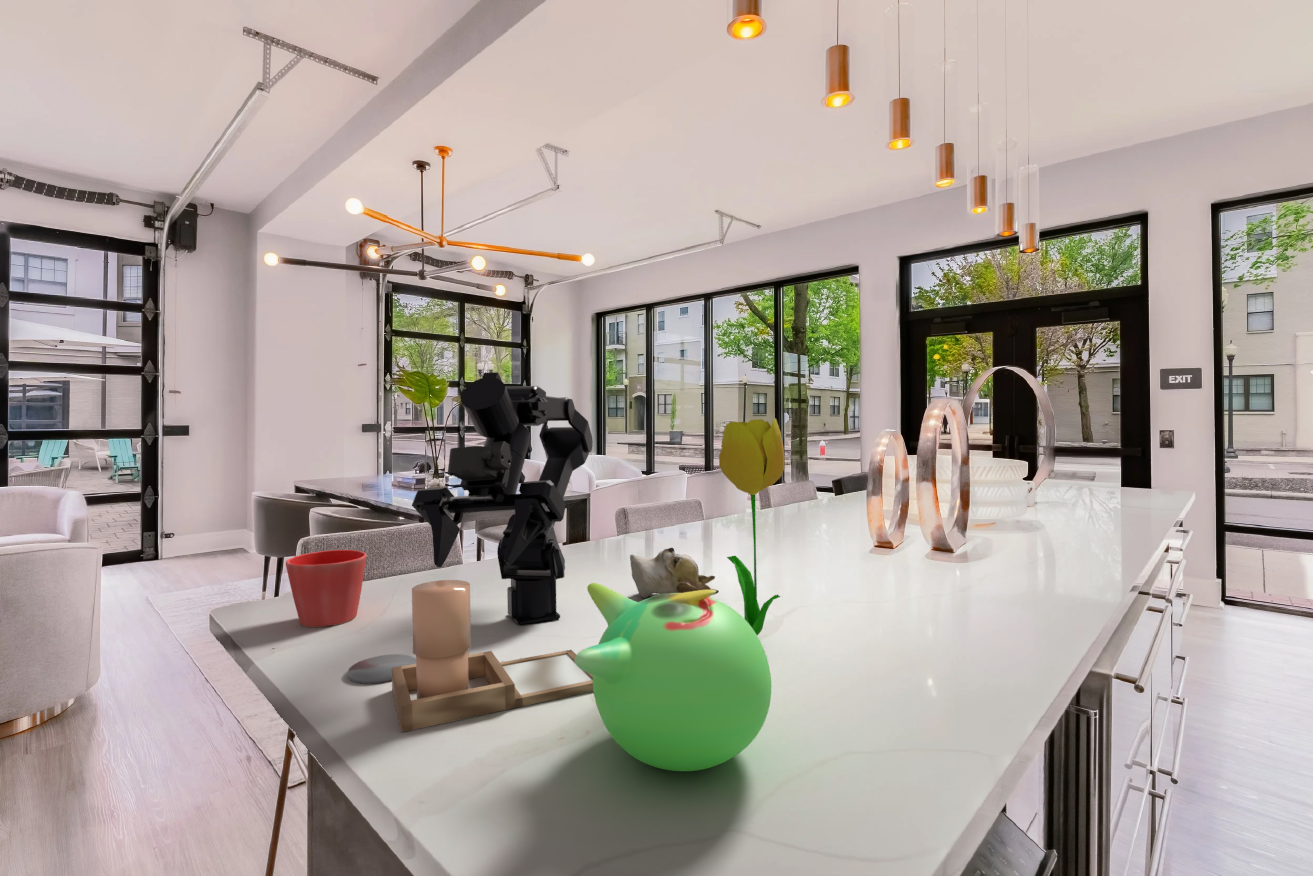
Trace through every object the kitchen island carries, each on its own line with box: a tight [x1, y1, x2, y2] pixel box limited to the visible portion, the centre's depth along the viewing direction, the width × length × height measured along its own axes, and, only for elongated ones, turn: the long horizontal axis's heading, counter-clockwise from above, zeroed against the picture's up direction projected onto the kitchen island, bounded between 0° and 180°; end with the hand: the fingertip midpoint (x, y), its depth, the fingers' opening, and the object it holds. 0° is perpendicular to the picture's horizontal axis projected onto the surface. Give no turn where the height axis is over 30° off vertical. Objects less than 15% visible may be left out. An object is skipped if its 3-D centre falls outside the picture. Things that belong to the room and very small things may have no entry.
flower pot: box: [285, 549, 368, 628], centre depth 97 cm, size 11×11×10 cm
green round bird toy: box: [575, 582, 772, 772], centre depth 57 cm, size 18×17×15 cm
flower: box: [718, 417, 786, 636], centre depth 85 cm, size 9×8×30 cm
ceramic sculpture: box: [629, 547, 719, 599], centre depth 108 cm, size 11×9×15 cm
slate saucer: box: [347, 653, 416, 685], centre depth 76 cm, size 8×8×1 cm
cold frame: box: [391, 649, 594, 733], centre depth 71 cm, size 21×11×2 cm, turn 117°
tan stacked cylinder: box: [411, 579, 472, 699], centre depth 67 cm, size 6×6×12 cm
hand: (471, 564), depth 75 cm, fingers open, 9 cm apart
